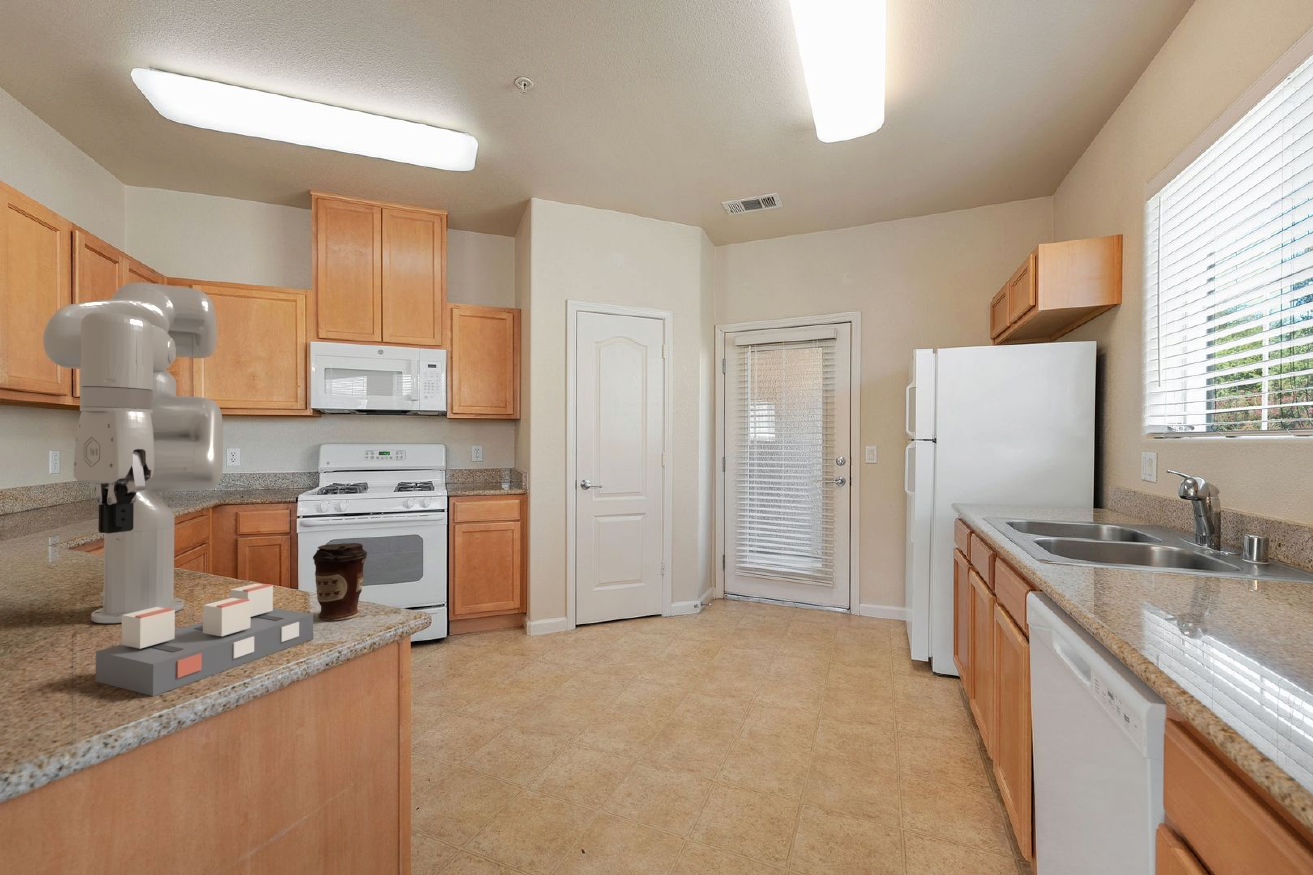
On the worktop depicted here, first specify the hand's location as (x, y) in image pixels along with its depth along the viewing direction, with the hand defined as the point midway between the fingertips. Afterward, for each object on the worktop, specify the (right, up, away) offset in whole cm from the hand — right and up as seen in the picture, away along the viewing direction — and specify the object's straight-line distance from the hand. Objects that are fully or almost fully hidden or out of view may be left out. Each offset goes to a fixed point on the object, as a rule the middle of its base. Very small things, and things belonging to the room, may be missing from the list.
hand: (116, 531), depth 80 cm
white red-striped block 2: (+12, -15, +11) cm, 22 cm away
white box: (+7, -15, -3) cm, 16 cm away
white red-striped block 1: (+14, -15, +2) cm, 20 cm away
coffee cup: (+19, -20, +23) cm, 35 cm away
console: (+12, -19, +3) cm, 23 cm away
